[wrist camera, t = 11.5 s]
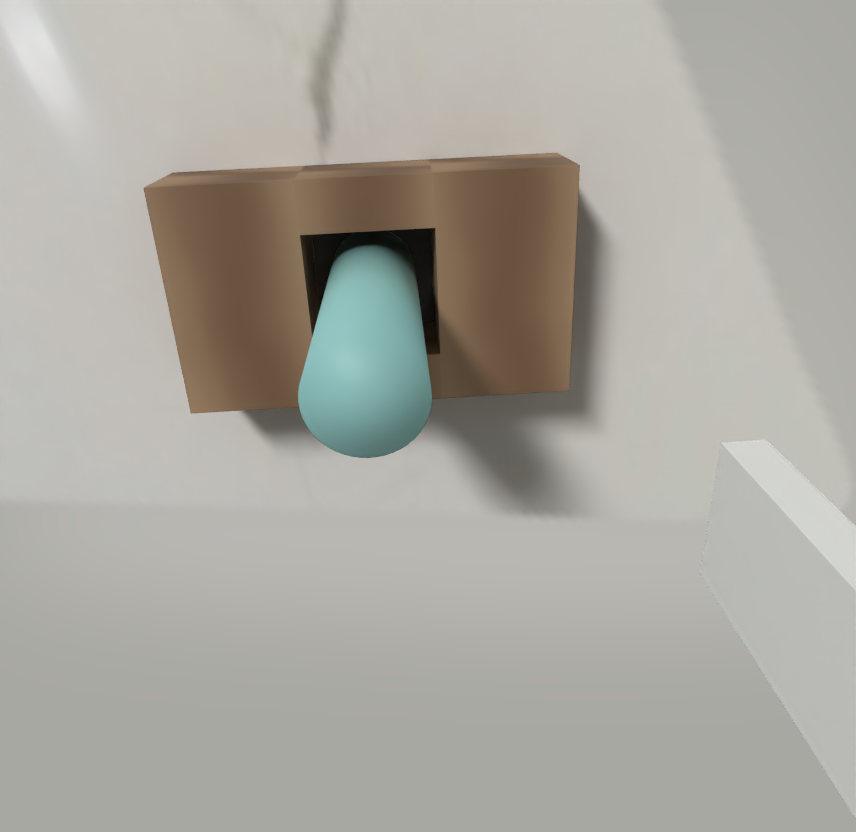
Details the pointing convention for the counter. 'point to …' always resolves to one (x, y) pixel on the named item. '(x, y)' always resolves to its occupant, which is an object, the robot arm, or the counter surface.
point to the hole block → (361, 212)
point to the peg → (368, 351)
